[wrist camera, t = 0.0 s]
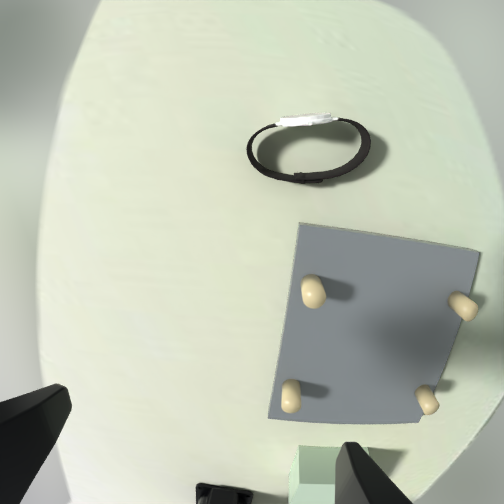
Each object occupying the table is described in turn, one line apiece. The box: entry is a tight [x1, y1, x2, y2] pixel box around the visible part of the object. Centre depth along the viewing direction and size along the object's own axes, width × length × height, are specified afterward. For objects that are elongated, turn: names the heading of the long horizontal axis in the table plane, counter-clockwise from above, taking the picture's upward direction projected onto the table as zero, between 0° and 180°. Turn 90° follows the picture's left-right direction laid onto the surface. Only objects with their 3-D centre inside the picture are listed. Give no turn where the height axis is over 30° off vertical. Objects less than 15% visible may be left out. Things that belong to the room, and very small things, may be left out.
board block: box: [288, 445, 370, 504], centre depth 24 cm, size 5×7×5 cm
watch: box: [247, 113, 371, 184], centre depth 19 cm, size 8×5×4 cm, turn 98°
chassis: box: [268, 222, 479, 424], centre depth 21 cm, size 16×14×4 cm
